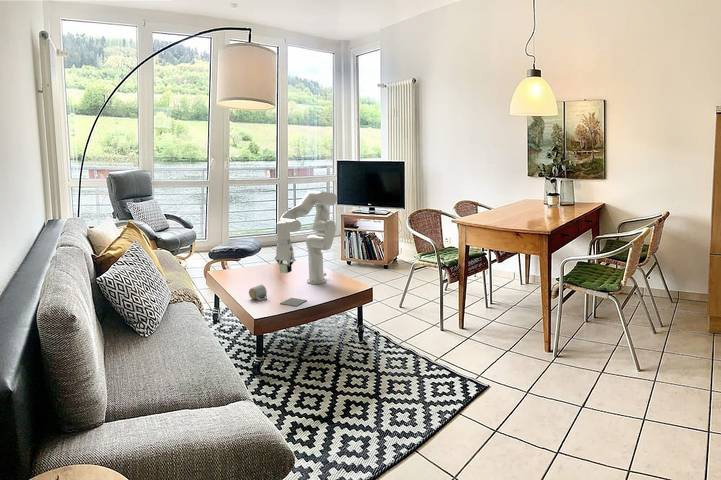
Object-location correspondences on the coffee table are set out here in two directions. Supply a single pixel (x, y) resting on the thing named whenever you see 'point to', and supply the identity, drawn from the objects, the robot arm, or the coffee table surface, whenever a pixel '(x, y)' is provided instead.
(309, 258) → the robot arm
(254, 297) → the ceramic mug
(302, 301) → the coaster
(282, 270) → the cube
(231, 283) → the coffee table surface
